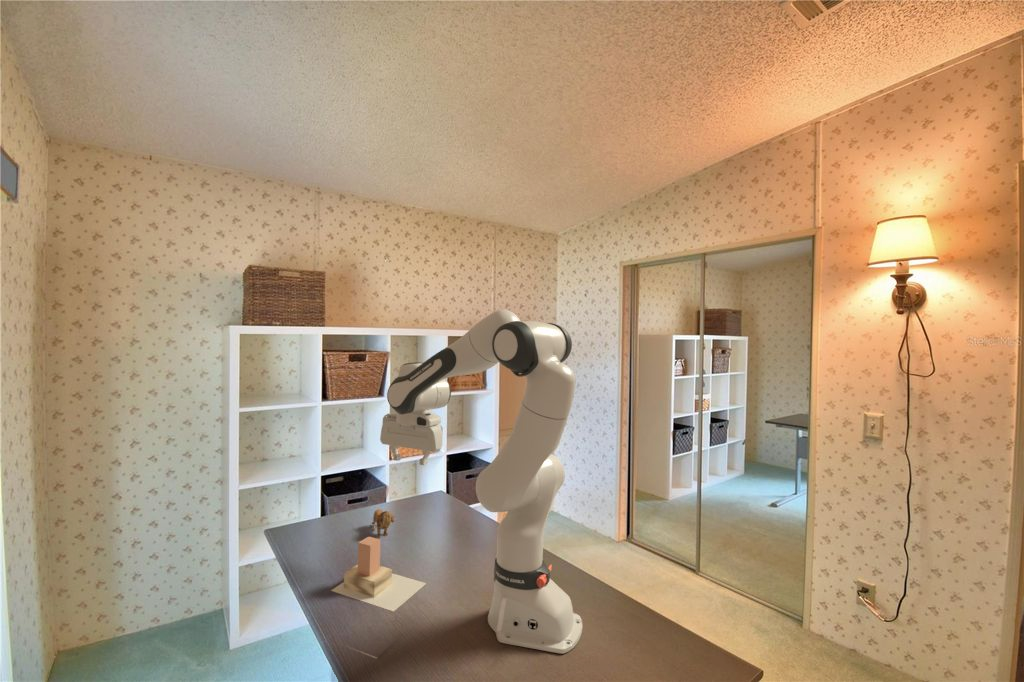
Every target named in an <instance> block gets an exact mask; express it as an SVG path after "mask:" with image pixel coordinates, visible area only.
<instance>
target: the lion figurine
mask: <svg viewBox="0 0 1024 682" xmlns="http://www.w3.org/2000/svg"><path fill="white" fill-rule="evenodd" d="M396 519H397V517H396V516H394V515H393V514H392V511H391V510H385V511H383V510H382V509H379V508H378V509H376V510H375V511H374V512H373V517H372V522H371V524H372V528H371V531H372V532H374V531H377V536H376V539H380V538H382V534H381V530H383V535H384V536H385V537H386V536H388V535H389V533H388V532H387V531H388V528H389V526H391V524H394V523H395V521H396Z"/></svg>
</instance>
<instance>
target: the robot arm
mask: <svg viewBox="0 0 1024 682" xmlns="http://www.w3.org/2000/svg"><path fill="white" fill-rule="evenodd" d="M572 347H573V342H572V338H571V335H570V333H569V332H568V331H567V330H566V329H565V328H564V327H562V326H561V325H559V324H556V323H552V322H542V321H537V320H523V321H521V319H520V318H519V316H517V315H516V314H515V313H514V312H513V311H511V310H508V309H502V308H501V309H497V310H496V311H494V312H492V313H490V314H489V315H487V316H485V317H484V318H482V319H481V320H479V321H478V322H477V323H476V324H475V325H474V326H473V327H472V328H470V329H469V330H468V331H467V332H466V333H464V334H463V335H462V336H461V337H460V338H458V339H457V340H455V341H454V342H452V343H451V344H448V346H446V347H444V348H443V349H441V350H440V351H439V352H436V353H435V354H434V355H432V356H431V357H429V358H428V359H427V360H425V361H424V362H420V361H419V362H417V361H415V362H407V363H403V364H402V365H400V368H399V370H398V375H397V377H395V378H394V379H393V380H392V382H391V383H390V385H389V387H388V389H387V393H386V395H387V396H386V398H387V402H388V404H389V406H390V407H391V408H392V409H393V411H395V412H396V413H395V414H393V413H386V414H385V415H383V417H382V424H381V430H380V438H379V441H380V443H381V444H382V445H387V446H390V447H389V448H390V451H391V453H392V457H393V458H392V460H393V461H396V462H398V461H401V458H402V457H401V456H402V453H399V450H398V448H399V447H400V448H406V449H413V450H417V451H418V450H420V451H422V455H423V456H422V457H421V458H420V459H419V465H420V466H426V465H427V464H428V458H429V456H430V454H431V453H436V452H438V451H440V450H441V449H442V447H443V429H442V427H441V425H440V424H441V422H442V417H441V416H439V415H438V414H435V413H434V412H432V411H431V410H438V409H441V408H445V407H446V406H447V405H448V403H449V402H450V399H451V395H452V389H451V385H450V383H449V381H448V379H449V378H453V377H460V376H467V375H474V374H480V373H482V372H485V371H487V370H489V369H491V368H492V367H494V366H495V365H497V364H498V363H500V365H502V366H503V367H505V368H506V369H508V370H510V371H511V372H512V373H513V374H514V376H516V377H519V378H522V377H525V378H526V388H525V392H524V396H523V397H522V401H521V405H520V408H519V410H518V413H517V417H516V420H515V423H514V425H513V429H512V431H511V433H510V435H509V436H508V437H507V440H506V442H505V443H504V445H503V446H502V448H501V449H500V451H499V452H498V454H497V455H496V456H495V458H494V459H493V460H492V462H490V463H489V465H487V466H486V467H485V468H484V469H483V470H482V471H480V472H479V474H478V475H477V478H476V480H475V481H476V482H475V492H476V493H475V494H476V497H477V499H478V501H479V503H480V505H481V506H482V507H483V508H484V509H485V510H486V511H488V512H490V513H503V512H507V513H506V515H505V516H504V518H502V520H501V521H500V522H499V525H498V528H497V532H496V533H497V537H496V539H497V540H496V557H495V560H494V566H493V582H494V590H493V595H492V600H491V605H490V608H489V612H488V615H487V623H488V625H489V627H490V628H491V630H493V631H494V632H495V635H496V639H497V641H498V642H499V643H502V644H507V645H512V646H516V647H517V646H518V647H523V648H529V649H533V650H534V649H535V650H540V651H545V652H550V653H556V654H566V653H568V652H570V651H572V649H573V648H575V647H576V645H577V644H578V642H579V640H580V639H581V636H582V634H583V633H582V632H583V620H582V618H581V616H580V615H579V614H577V613H575V612H574V608H573V604H572V600H571V597H570V596H569V595H568V594H567V593H566V592H565V591H564V590H563V589H562V588H561V587H560V586H558V584H556V583H555V582H554V580H552V579H551V571H552V567H553V565H552V564H550V565H549V566H547V564H546V563H545V562H544V559H543V556H544V554H543V553H544V542H545V541H544V538H545V530H546V524H547V521H548V517H549V514H550V510H551V508H552V505H553V502H554V500H555V497H556V495H557V493H558V492H559V490H560V489H561V487H562V486H563V485H564V482H565V475H566V474H565V468H564V465H563V464H562V463H563V462H562V461H561V460H560V459H559V458H558V457H557V456H556V455H554V454H553V453H554V452H555V451H556V450H557V449H558V447H559V445H560V442H561V439H562V436H563V433H564V430H565V427H566V424H567V421H568V418H569V414H570V412H571V410H572V409H571V407H572V405H573V399H574V395H575V388H576V375H575V373H574V371H573V370H572V369H571V368H570V367H569V366H568V365H566V364H565V363H564V361H566V360H567V359H568V357H569V356H570V355H571V352H572Z"/></svg>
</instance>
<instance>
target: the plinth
mask: <svg viewBox="0 0 1024 682" xmlns="http://www.w3.org/2000/svg"><path fill="white" fill-rule="evenodd" d="M392 573H393V569H391V568H389V567H386V566H382V565H380V569H379V570H378V571H377V572H375V573H374V574H372V575H371V576H367V575H364V574H360V573H358V563H357V564H356V565H354V566H352V567H351V568H349V569H347V570H346V571H344V573H343V575H344V576H343V582H344V588H346V589H350V590H353V591H356V592H359V593H362V594H365V595H368V596H371V597H376V596H377V595H378V594H379V593H381V592H382V591H383V590H385V589H386V588H387V587H389V586H390V585H391V584H392Z"/></svg>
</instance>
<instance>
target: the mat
mask: <svg viewBox="0 0 1024 682" xmlns="http://www.w3.org/2000/svg"><path fill="white" fill-rule="evenodd" d="M425 585H427V583H426V582H424V581H419V580H416V579H413V578H411V577H410V578H409V577H408V576H407V577H406V576H404V575H400V574H395V573H393V572H392V584H391V585H390V586H389V587H387V588H386V589H385V590H383V591H382V592H381V593H379V594H378V595H377V596H376V597H371V596H368V595H365V594H362V593H359V592H356V591H353V590H350V589H346V588H344V581H343V582H341V583H340V584H339V585H337V586H336V587H334V588H332V589H331V590H330V591H331V592H333V593H337V594H340V595H342V596H346V597H348V598H352V599H355V600H358V601H361V602H364V603H366V604H370V605H372V606H376V607H378V608H382V609H384V610H388V611H391V612H395V611H396V610H397V609H398V608H399V607H401V606H402V605H403V604H404V603H405V602H407V601H408V600H409V599H411V597H412V596H414V594H416V593H417V592H419V591H420V590H421V589H422V588H423V587H425Z"/></svg>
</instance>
